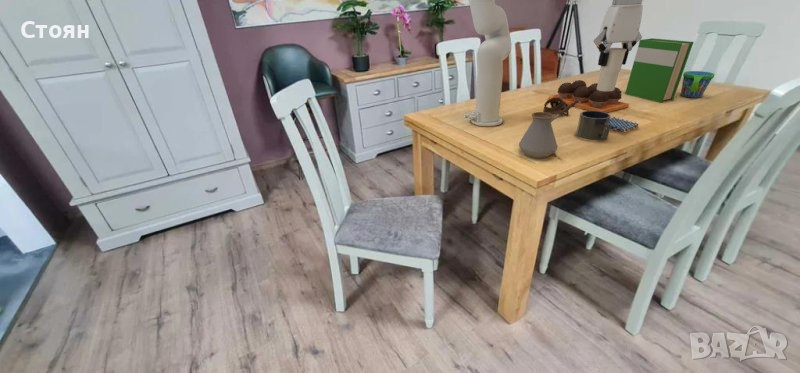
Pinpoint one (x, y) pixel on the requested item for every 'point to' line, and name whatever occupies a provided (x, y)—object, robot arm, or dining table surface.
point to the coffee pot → (541, 135)
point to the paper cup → (611, 69)
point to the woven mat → (621, 125)
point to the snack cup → (695, 83)
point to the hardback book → (658, 68)
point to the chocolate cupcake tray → (590, 97)
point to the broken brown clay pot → (555, 105)
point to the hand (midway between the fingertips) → (611, 64)
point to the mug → (593, 125)
